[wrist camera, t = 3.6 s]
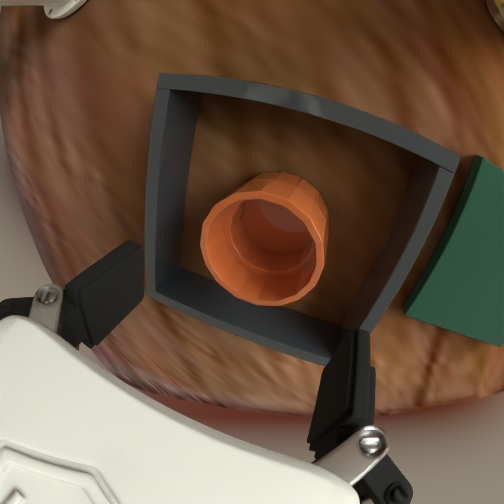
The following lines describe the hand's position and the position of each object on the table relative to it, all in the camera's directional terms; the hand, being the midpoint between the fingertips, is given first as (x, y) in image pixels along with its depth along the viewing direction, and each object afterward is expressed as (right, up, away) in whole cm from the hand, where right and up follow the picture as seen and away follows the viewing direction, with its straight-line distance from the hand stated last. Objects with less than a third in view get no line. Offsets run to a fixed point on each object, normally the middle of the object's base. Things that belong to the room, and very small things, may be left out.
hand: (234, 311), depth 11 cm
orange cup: (+3, +5, +8) cm, 10 cm away
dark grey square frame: (+3, +5, +8) cm, 10 cm away
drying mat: (+20, +1, +4) cm, 21 cm away
